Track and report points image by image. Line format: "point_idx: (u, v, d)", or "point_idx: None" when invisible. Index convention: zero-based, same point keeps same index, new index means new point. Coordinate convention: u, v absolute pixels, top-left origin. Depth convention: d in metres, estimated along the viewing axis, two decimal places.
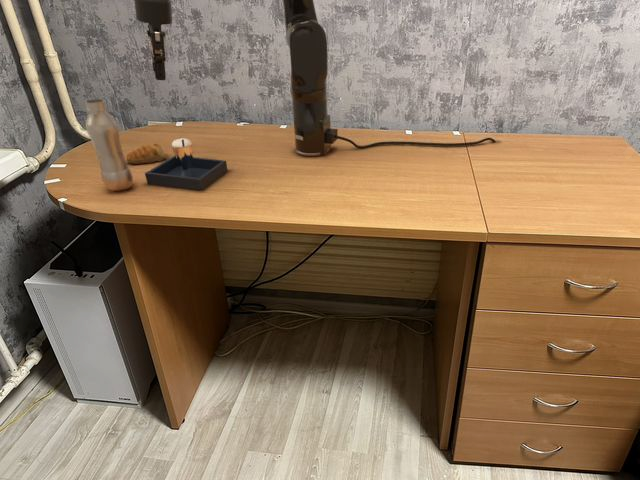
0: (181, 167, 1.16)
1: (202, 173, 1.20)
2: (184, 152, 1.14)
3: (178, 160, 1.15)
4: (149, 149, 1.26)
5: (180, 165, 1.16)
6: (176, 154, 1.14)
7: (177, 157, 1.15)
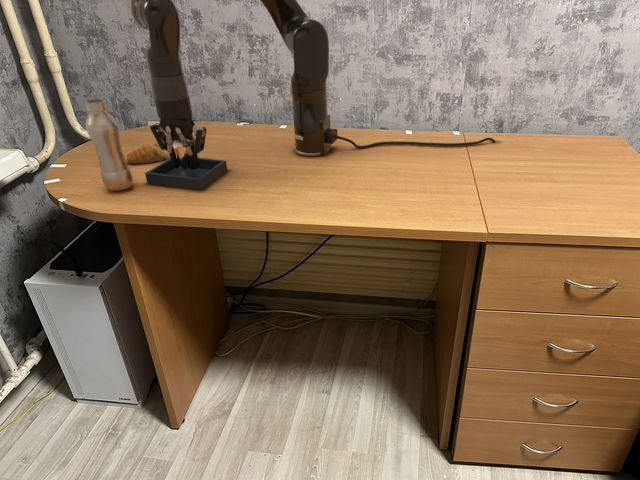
0: (181, 167, 1.16)
1: (202, 173, 1.20)
2: (184, 152, 1.14)
3: (178, 160, 1.15)
4: (149, 149, 1.26)
5: (180, 165, 1.16)
6: (176, 154, 1.14)
7: (177, 157, 1.15)
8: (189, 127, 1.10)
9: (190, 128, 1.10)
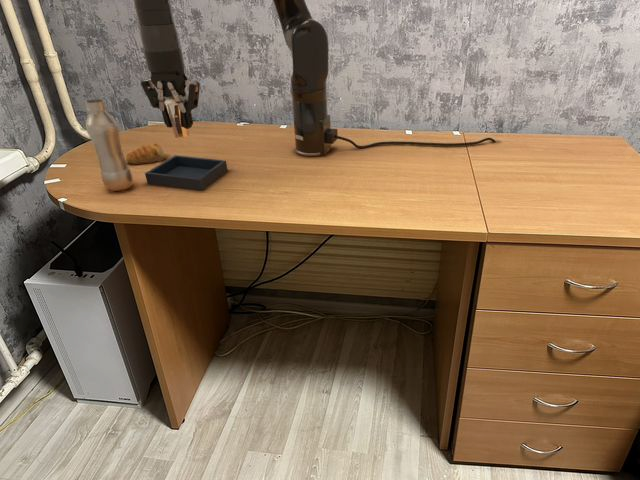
0: (174, 126, 1.11)
1: (202, 173, 1.20)
2: (177, 110, 1.08)
3: (171, 118, 1.10)
4: (149, 149, 1.26)
5: (173, 124, 1.10)
6: (169, 112, 1.09)
7: (170, 115, 1.09)
8: (181, 81, 1.05)
9: (182, 82, 1.05)
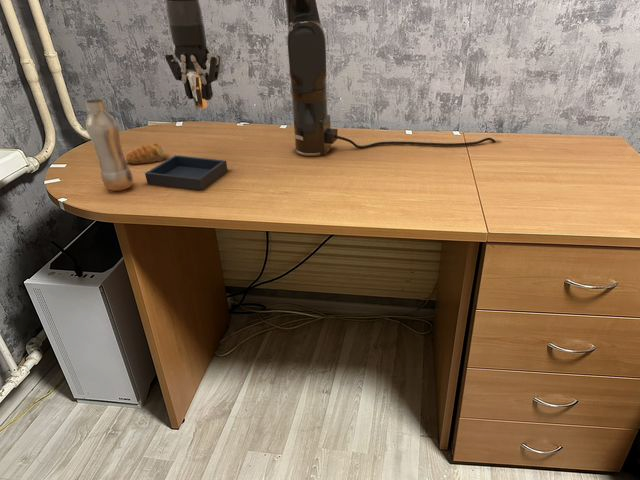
0: (195, 97, 1.19)
1: (202, 173, 1.20)
2: (199, 81, 1.16)
3: (193, 90, 1.18)
4: (149, 149, 1.26)
5: (194, 95, 1.18)
6: (191, 84, 1.17)
7: (192, 87, 1.17)
8: (203, 54, 1.13)
9: (204, 56, 1.13)
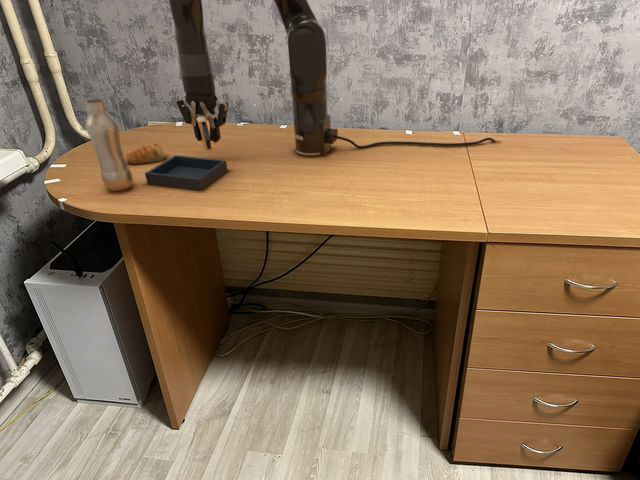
0: (204, 140, 1.26)
1: (202, 173, 1.20)
2: (208, 125, 1.23)
3: (202, 133, 1.25)
4: (149, 149, 1.26)
5: (203, 138, 1.25)
6: (200, 127, 1.24)
7: (201, 130, 1.24)
8: (213, 101, 1.20)
9: (213, 102, 1.20)
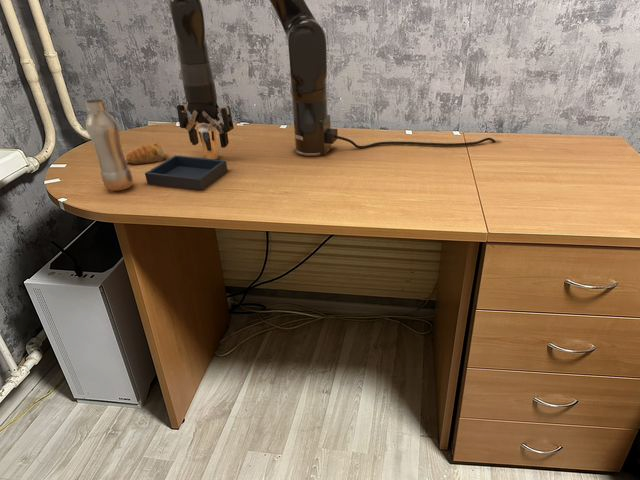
0: (206, 150, 1.27)
1: (202, 173, 1.20)
2: (209, 136, 1.25)
3: (203, 143, 1.26)
4: (149, 149, 1.26)
5: (205, 148, 1.27)
6: (202, 138, 1.25)
7: (203, 141, 1.26)
8: (214, 110, 1.21)
9: (215, 111, 1.21)
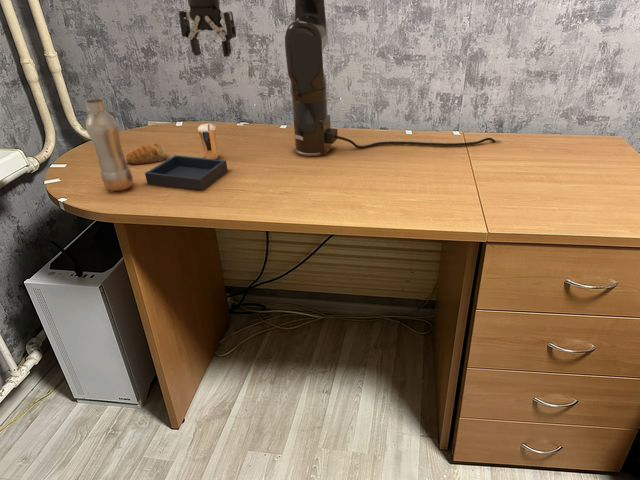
0: (206, 150, 1.27)
1: (202, 173, 1.20)
2: (209, 136, 1.25)
3: (203, 143, 1.26)
4: (149, 149, 1.26)
5: (205, 148, 1.27)
6: (202, 138, 1.25)
7: (203, 141, 1.26)
8: (217, 15, 1.20)
9: (218, 16, 1.20)
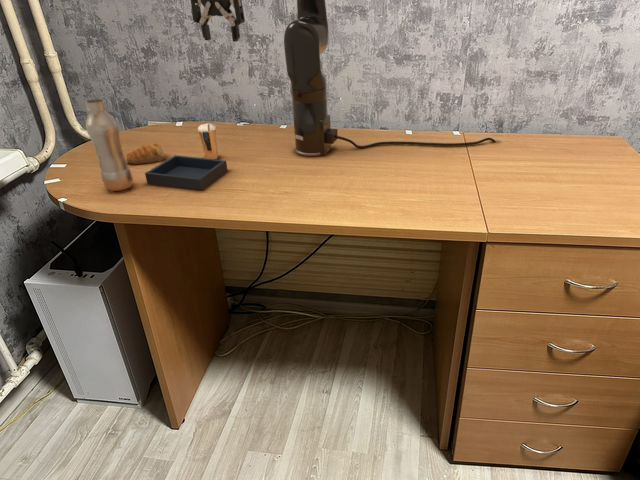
0: (206, 150, 1.27)
1: (202, 173, 1.20)
2: (209, 136, 1.25)
3: (203, 143, 1.26)
4: (149, 149, 1.26)
5: (205, 148, 1.27)
6: (202, 138, 1.25)
7: (203, 141, 1.26)
8: (227, 1, 1.26)
9: (228, 2, 1.26)
